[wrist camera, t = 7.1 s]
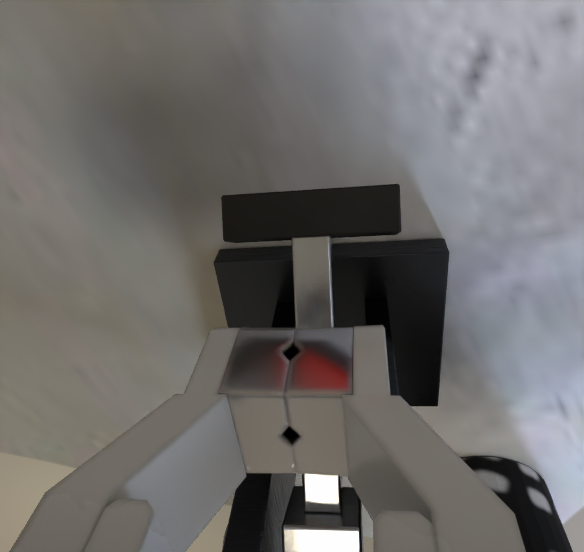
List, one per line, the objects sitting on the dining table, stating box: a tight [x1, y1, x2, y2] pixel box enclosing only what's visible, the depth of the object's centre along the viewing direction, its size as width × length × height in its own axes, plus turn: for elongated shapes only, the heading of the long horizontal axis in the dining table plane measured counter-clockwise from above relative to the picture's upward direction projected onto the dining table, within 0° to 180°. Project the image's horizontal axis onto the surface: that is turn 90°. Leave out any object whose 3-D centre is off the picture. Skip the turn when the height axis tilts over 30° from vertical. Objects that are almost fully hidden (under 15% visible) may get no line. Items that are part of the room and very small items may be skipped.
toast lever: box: [221, 184, 401, 552], centre depth 14 cm, size 12×5×2 cm
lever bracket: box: [214, 239, 449, 552], centre depth 18 cm, size 9×10×13 cm
